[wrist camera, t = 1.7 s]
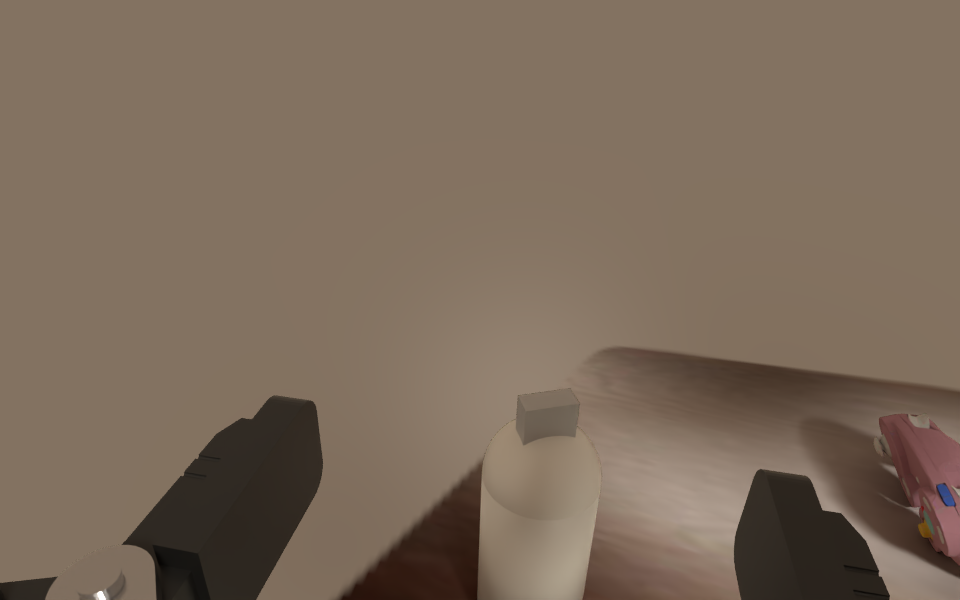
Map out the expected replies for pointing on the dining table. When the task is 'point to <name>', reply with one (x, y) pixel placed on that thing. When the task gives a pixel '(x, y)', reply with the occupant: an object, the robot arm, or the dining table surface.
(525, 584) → the bottle with rectangular cap
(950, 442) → the video game controller
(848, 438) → the dining table surface
